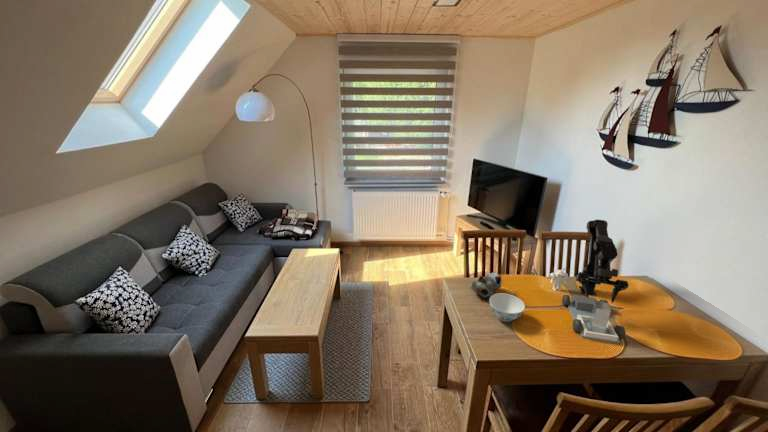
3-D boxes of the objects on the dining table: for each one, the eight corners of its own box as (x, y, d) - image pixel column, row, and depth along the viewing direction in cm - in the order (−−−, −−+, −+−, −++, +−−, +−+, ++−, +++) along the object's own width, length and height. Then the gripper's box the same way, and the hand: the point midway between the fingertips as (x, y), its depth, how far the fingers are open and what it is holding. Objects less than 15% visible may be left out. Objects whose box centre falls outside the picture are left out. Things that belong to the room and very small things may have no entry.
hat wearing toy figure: (563, 287, 173) (568, 267, 169) (567, 291, 169) (571, 270, 165) (546, 286, 173) (550, 266, 169) (549, 291, 170) (553, 270, 165)
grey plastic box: (588, 323, 144) (594, 300, 140) (602, 326, 142) (608, 303, 138) (590, 331, 139) (596, 308, 135) (603, 335, 137) (610, 311, 133)
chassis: (561, 300, 162) (563, 291, 161) (602, 305, 158) (604, 296, 156) (576, 336, 138) (578, 326, 136) (625, 344, 134) (628, 334, 132)
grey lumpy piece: (473, 282, 177) (488, 262, 173) (492, 297, 172) (508, 276, 169) (467, 289, 163) (483, 267, 159) (488, 305, 159) (504, 282, 155)
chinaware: (527, 316, 150) (530, 302, 147) (514, 333, 140) (516, 318, 137) (496, 303, 160) (498, 289, 157) (481, 317, 150) (483, 303, 147)
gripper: (582, 256, 145) (578, 290, 140) (633, 265, 137) (631, 301, 132) (577, 263, 154) (574, 296, 149) (625, 272, 147) (623, 307, 142)
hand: (599, 299), depth 143 cm, fingers open, 9 cm apart
